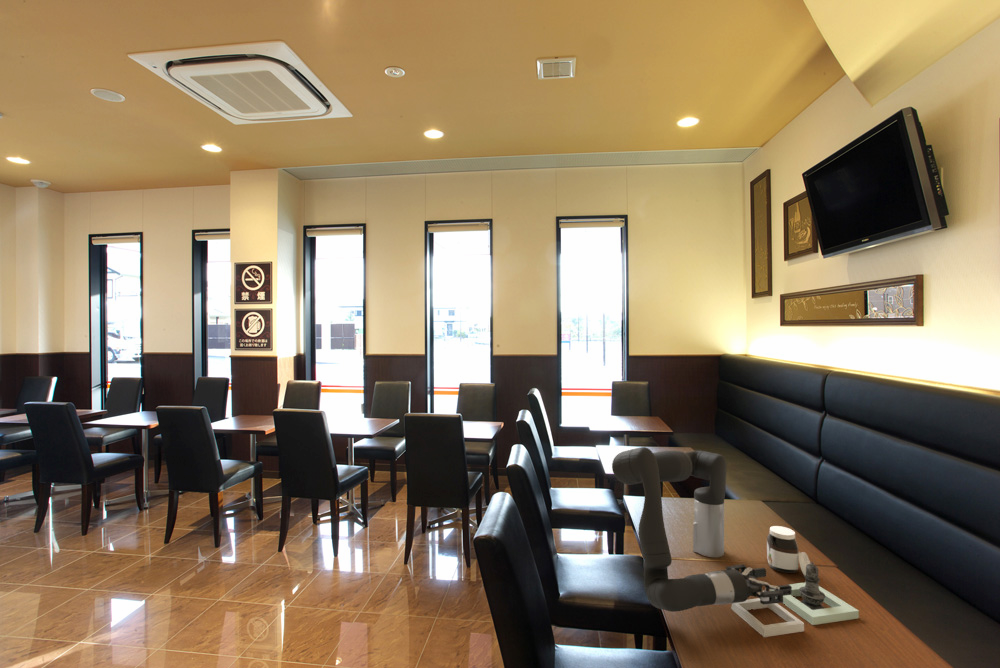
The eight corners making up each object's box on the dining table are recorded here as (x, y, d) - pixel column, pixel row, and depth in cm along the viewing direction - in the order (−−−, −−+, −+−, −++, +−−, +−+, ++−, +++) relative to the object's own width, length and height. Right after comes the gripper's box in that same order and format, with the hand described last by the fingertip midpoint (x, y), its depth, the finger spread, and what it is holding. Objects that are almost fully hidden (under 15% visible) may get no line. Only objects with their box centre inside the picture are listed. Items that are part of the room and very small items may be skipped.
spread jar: (763, 558, 150) (764, 522, 150) (803, 562, 147) (803, 526, 147) (775, 577, 138) (775, 538, 138) (818, 582, 135) (818, 543, 135)
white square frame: (763, 637, 111) (763, 629, 111) (731, 609, 122) (731, 601, 122) (804, 631, 113) (804, 623, 113) (768, 604, 124) (768, 596, 124)
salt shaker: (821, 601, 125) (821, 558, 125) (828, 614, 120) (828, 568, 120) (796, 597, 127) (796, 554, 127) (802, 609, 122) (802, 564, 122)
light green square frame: (812, 625, 116) (812, 617, 116) (769, 593, 129) (769, 586, 129) (858, 618, 118) (858, 610, 118) (812, 588, 132) (812, 581, 132)
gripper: (742, 587, 111) (799, 580, 115) (705, 559, 125) (757, 553, 129) (742, 618, 111) (799, 610, 115) (705, 586, 125) (757, 580, 129)
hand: (777, 580), depth 122 cm, fingers open, 8 cm apart
